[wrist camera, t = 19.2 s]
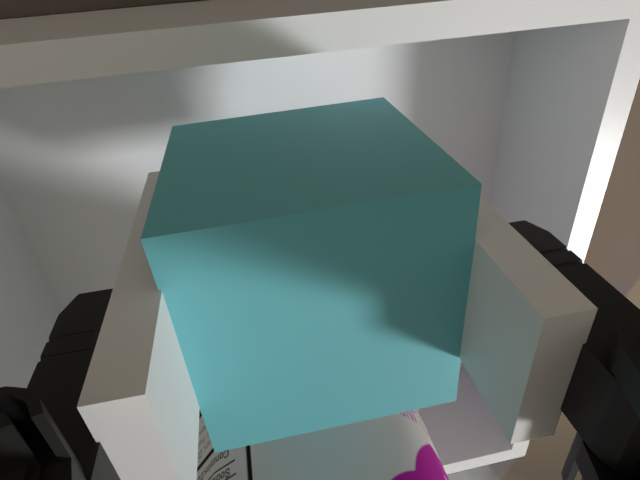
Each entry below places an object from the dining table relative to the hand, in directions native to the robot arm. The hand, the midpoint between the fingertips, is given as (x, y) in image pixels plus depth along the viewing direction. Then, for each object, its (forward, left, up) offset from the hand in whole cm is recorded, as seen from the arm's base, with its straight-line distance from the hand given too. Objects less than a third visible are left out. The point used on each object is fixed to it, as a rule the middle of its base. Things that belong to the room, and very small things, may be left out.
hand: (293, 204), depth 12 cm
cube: (0, 0, 0) cm, 0 cm away
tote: (0, -6, -6) cm, 8 cm away
